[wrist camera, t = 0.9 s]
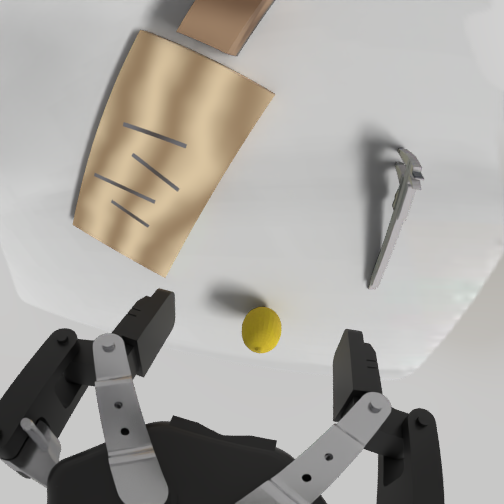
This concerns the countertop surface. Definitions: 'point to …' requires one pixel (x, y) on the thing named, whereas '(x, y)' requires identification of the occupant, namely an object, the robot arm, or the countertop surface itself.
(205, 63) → the plywood board
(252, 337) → the lemon
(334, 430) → the robot arm
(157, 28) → the countertop surface
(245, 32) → the block
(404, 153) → the caliper
